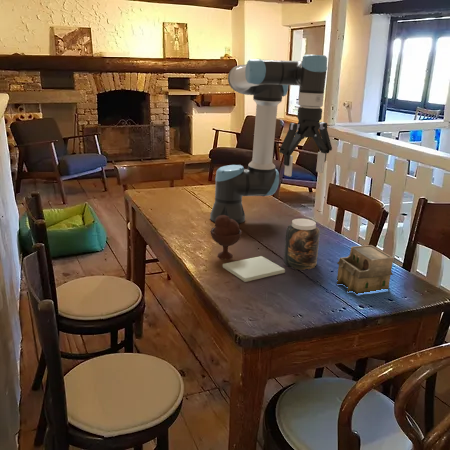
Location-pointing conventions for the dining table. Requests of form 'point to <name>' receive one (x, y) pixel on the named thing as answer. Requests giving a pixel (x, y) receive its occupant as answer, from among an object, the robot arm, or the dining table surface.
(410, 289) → the dining table surface
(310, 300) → the dining table surface
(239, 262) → the board
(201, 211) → the dining table surface
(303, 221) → the jar
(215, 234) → the ice cream bowl
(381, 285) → the miniature house
